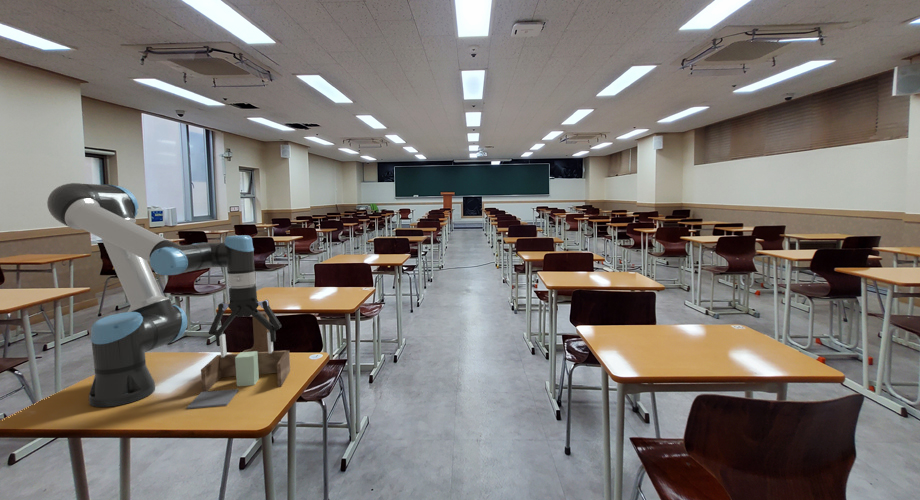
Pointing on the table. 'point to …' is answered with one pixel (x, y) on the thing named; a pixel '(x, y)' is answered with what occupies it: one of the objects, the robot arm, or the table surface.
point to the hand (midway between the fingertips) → (247, 354)
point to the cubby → (227, 367)
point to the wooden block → (259, 335)
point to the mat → (213, 398)
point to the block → (247, 368)
